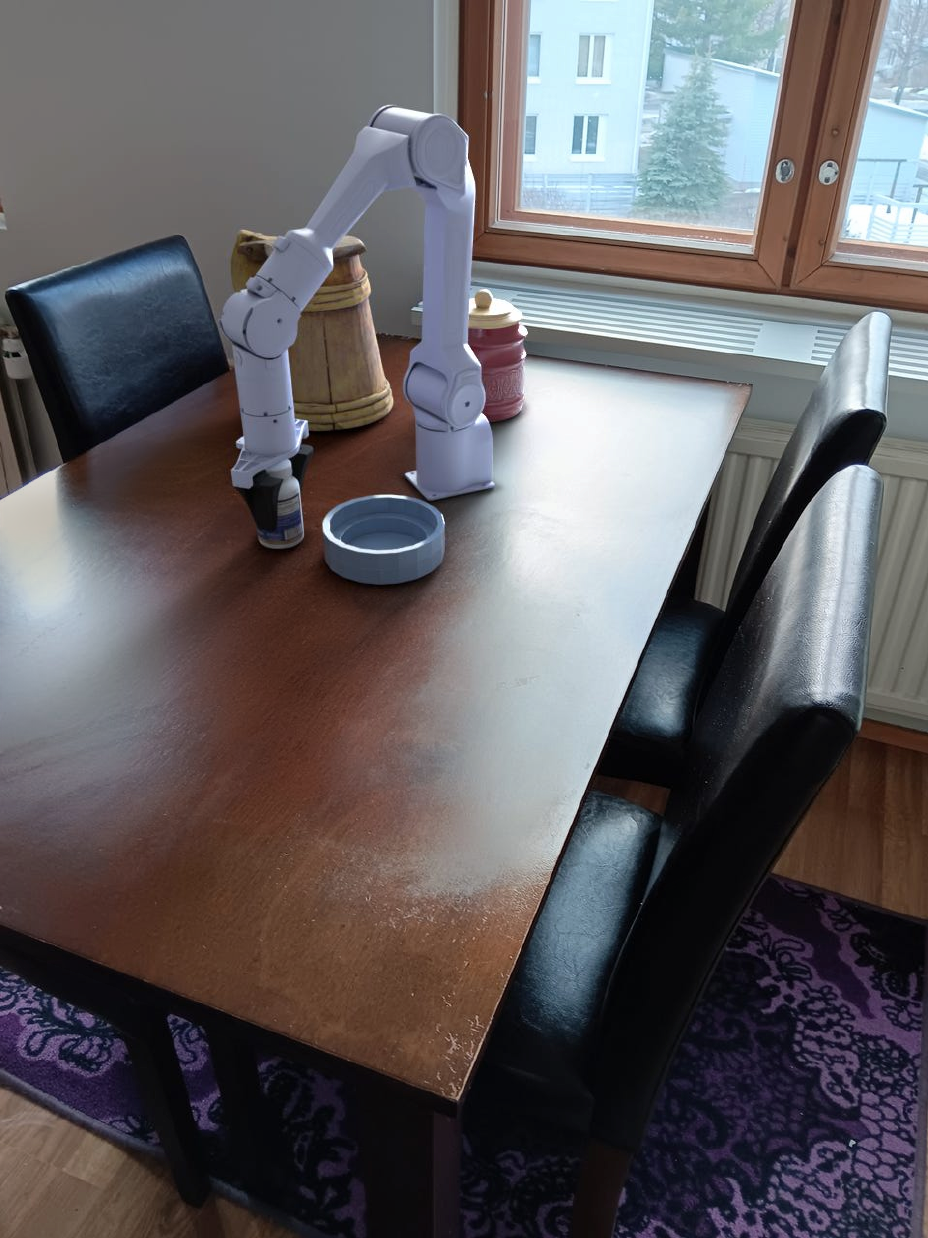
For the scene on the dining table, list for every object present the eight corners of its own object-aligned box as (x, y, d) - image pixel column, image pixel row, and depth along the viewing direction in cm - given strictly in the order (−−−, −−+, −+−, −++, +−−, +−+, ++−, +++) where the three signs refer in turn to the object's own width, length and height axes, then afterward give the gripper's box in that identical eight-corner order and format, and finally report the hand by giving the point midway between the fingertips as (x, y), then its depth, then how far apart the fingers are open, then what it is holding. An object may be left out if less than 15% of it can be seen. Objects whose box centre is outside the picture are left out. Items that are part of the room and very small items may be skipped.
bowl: (415, 519, 119) (414, 485, 116) (464, 572, 109) (464, 537, 106) (309, 542, 114) (306, 508, 111) (349, 600, 104) (347, 564, 101)
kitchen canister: (471, 385, 155) (472, 272, 145) (540, 403, 149) (546, 287, 139) (421, 410, 147) (419, 292, 137) (492, 431, 140) (495, 309, 130)
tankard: (369, 441, 137) (360, 259, 123) (218, 422, 142) (192, 245, 128) (408, 394, 152) (403, 226, 138) (269, 379, 157) (251, 215, 142)
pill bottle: (260, 528, 116) (250, 453, 111) (305, 526, 117) (298, 452, 111) (256, 551, 112) (246, 475, 106) (303, 549, 112) (295, 473, 107)
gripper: (265, 378, 112) (277, 485, 119) (199, 426, 100) (216, 540, 108) (320, 386, 110) (329, 493, 118) (260, 436, 99) (273, 551, 106)
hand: (279, 517), depth 113 cm, fingers closed on pill bottle, 5 cm apart
